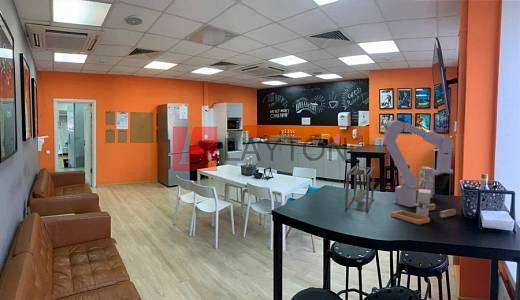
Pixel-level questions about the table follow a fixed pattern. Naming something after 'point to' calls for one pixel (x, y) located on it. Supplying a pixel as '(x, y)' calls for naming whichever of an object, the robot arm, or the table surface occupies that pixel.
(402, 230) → the table surface
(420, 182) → the candy bar box
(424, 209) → the ink box
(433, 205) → the birch tunnel
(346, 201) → the newton's cradle
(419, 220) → the tan wooden flat tray
